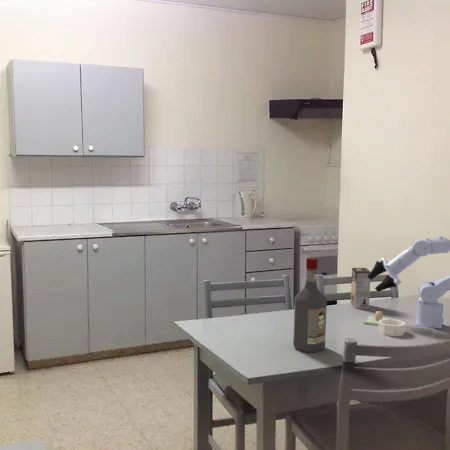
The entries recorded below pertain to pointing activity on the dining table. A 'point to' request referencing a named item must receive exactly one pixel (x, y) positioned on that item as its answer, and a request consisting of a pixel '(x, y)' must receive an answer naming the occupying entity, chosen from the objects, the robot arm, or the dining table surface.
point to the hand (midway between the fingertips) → (372, 284)
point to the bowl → (391, 327)
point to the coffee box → (360, 288)
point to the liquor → (310, 313)
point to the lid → (375, 318)
